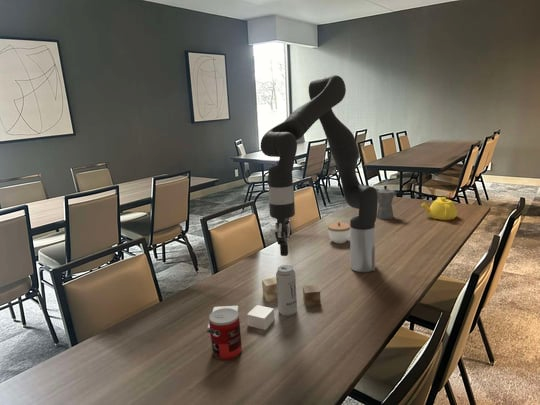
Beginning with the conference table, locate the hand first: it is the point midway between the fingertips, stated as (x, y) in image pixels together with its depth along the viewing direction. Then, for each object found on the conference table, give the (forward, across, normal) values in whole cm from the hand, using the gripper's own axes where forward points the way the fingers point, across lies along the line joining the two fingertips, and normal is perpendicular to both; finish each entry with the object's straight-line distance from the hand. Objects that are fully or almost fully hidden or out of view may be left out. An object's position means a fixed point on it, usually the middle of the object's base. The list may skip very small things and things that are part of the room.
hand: (284, 255), depth 117 cm
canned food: (+20, -22, +13) cm, 32 cm away
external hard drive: (+20, -6, +19) cm, 29 cm away
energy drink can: (+20, 0, 0) cm, 20 cm away
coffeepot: (+19, +107, -37) cm, 115 cm away
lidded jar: (+20, +66, -14) cm, 70 cm away
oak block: (+20, +9, +7) cm, 23 cm away
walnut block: (+20, +7, -7) cm, 22 cm away
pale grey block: (+20, -7, +7) cm, 22 cm away
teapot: (+19, +106, -66) cm, 127 cm away
